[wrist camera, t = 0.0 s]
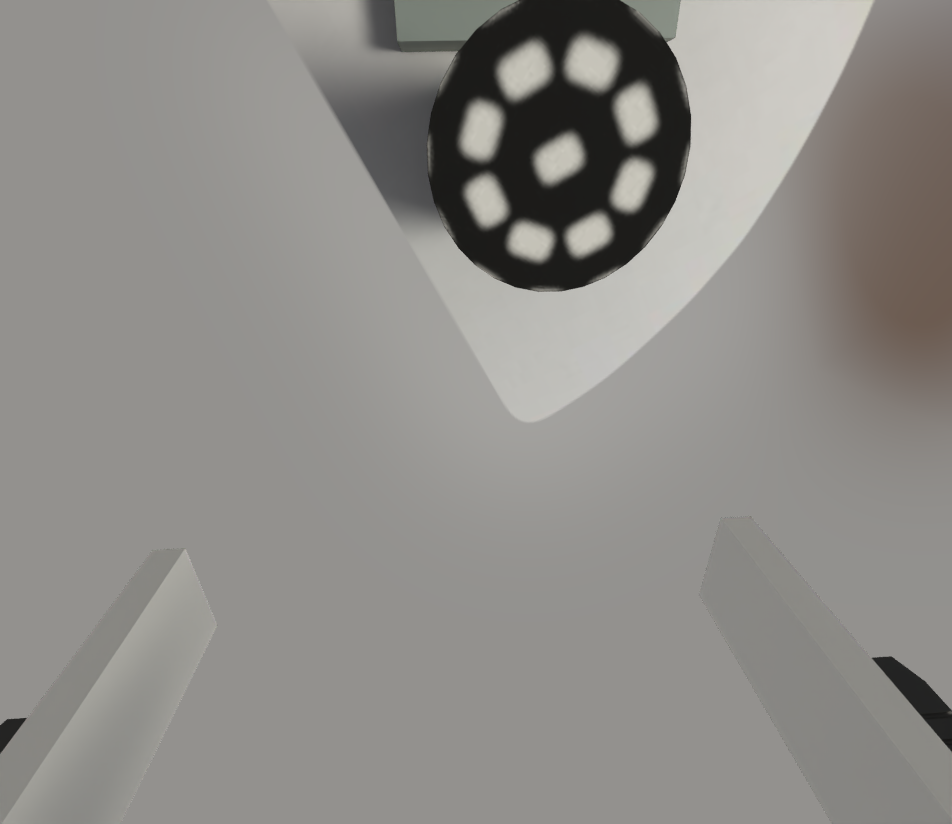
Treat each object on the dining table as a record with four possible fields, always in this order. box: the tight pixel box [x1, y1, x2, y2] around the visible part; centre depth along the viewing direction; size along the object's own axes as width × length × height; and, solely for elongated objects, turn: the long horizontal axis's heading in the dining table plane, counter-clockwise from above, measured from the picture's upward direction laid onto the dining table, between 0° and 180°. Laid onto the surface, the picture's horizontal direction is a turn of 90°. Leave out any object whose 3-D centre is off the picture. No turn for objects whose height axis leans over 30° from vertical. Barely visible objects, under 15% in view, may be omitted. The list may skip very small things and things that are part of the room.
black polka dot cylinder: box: [427, 0, 691, 292], centre depth 24 cm, size 8×8×20 cm
